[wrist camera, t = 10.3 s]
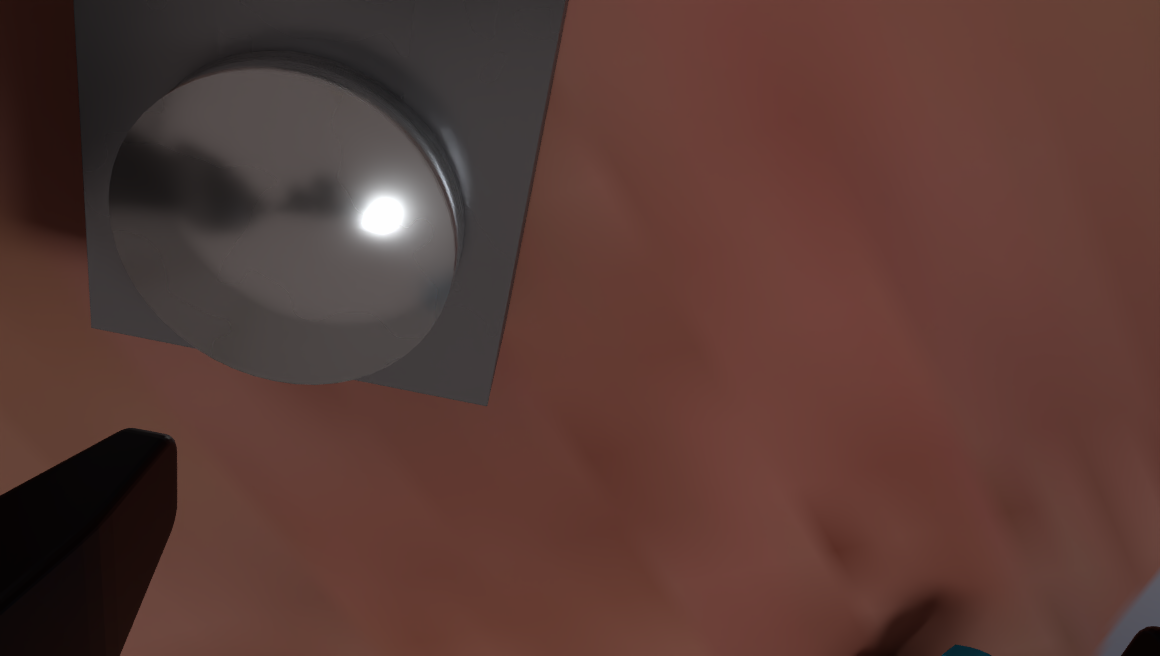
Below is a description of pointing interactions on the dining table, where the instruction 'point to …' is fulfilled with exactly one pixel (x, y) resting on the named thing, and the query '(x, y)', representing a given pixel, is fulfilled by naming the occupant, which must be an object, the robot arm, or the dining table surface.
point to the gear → (964, 651)
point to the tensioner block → (314, 180)
